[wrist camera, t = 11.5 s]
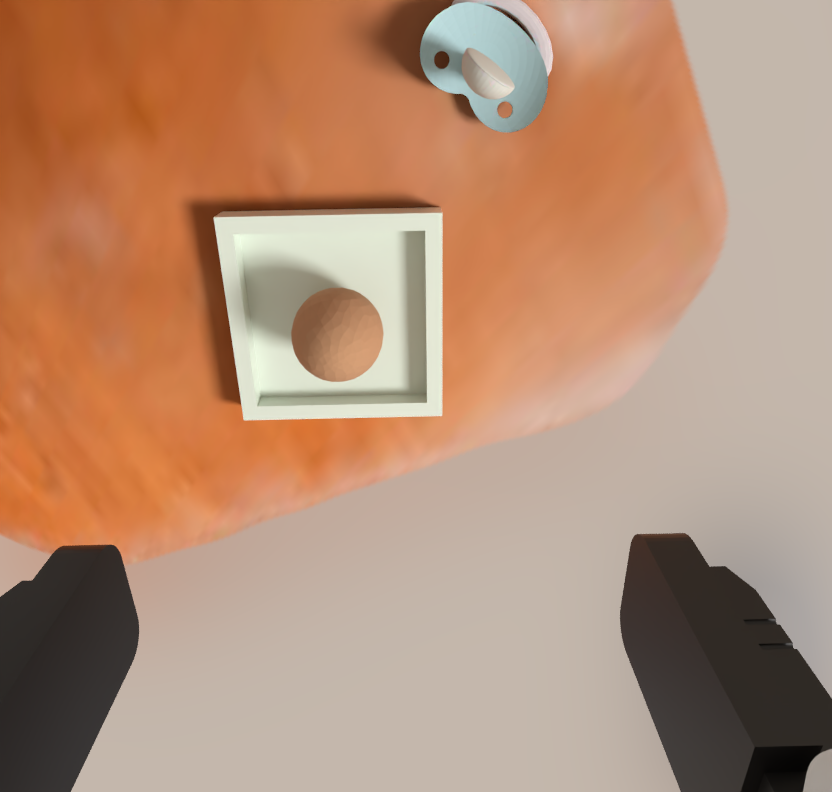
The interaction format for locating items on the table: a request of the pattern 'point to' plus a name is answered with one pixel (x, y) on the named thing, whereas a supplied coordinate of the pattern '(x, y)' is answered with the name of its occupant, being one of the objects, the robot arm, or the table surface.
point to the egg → (337, 334)
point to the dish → (334, 268)
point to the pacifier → (491, 59)
